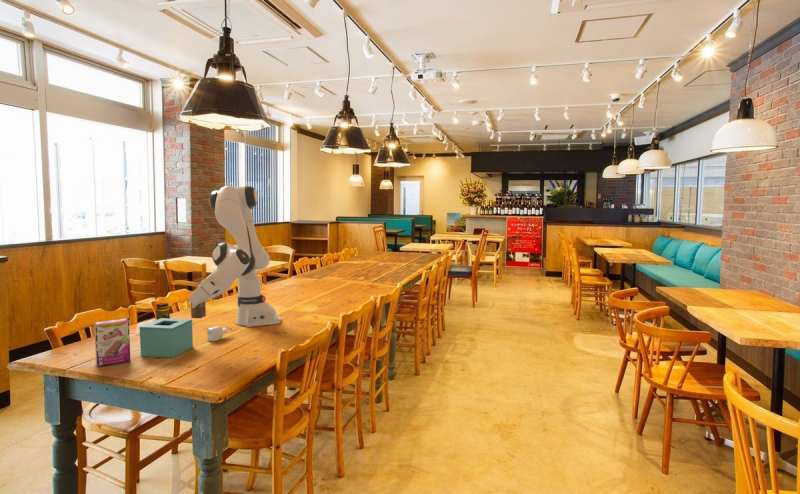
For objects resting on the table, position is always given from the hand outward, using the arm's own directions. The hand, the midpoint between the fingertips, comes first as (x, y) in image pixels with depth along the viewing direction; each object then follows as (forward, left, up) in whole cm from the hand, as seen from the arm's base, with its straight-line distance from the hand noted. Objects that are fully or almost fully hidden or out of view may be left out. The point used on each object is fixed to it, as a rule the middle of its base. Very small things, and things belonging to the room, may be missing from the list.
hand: (196, 305), depth 189 cm
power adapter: (-6, -19, -20) cm, 28 cm away
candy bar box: (+30, +5, -20) cm, 36 cm away
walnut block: (-1, 0, -5) cm, 5 cm away
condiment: (+24, -45, -20) cm, 54 cm away
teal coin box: (+13, -5, -20) cm, 24 cm away
